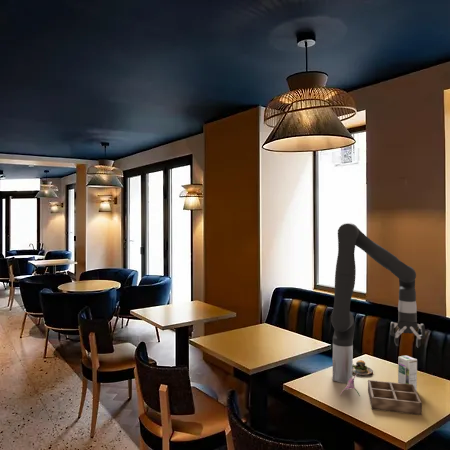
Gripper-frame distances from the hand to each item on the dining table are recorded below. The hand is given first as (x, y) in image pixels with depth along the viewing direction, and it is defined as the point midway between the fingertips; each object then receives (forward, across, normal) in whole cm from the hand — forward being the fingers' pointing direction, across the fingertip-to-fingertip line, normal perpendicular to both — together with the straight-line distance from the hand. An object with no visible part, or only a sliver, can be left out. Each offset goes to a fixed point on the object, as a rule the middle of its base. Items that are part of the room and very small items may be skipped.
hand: (407, 346), depth 178 cm
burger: (+20, -19, +16) cm, 32 cm away
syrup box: (+20, 0, 0) cm, 20 cm away
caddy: (+20, -8, -15) cm, 26 cm away
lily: (+20, -25, -12) cm, 34 cm away
